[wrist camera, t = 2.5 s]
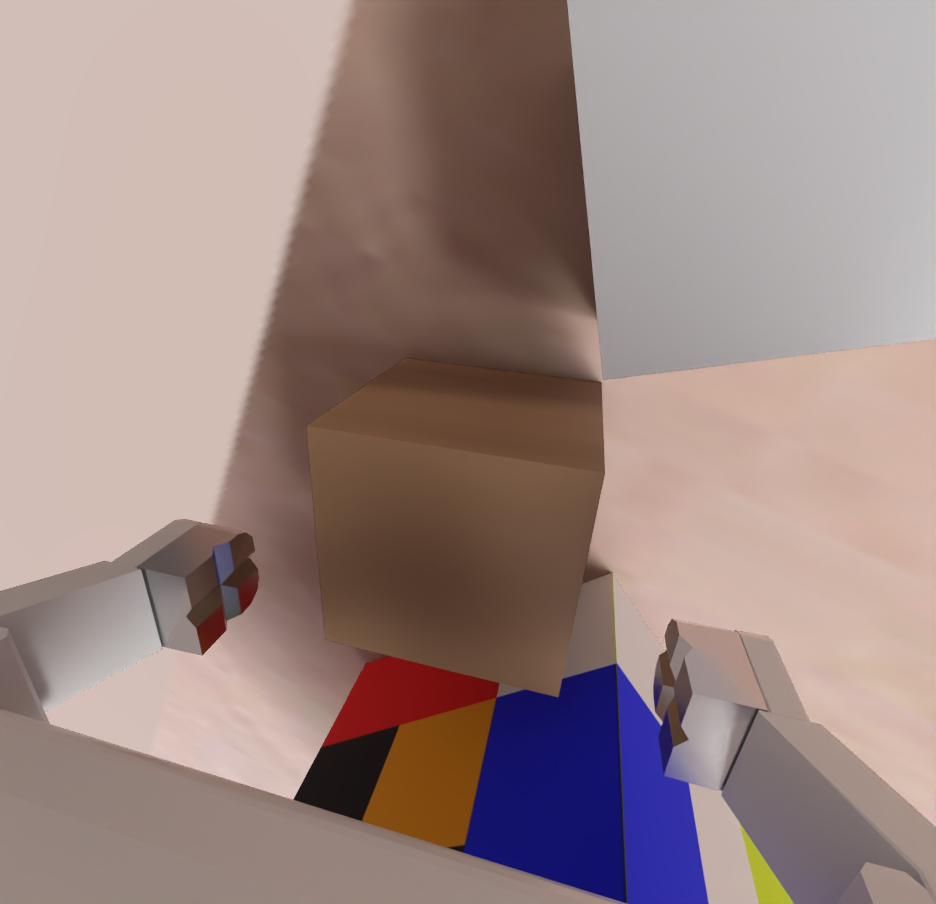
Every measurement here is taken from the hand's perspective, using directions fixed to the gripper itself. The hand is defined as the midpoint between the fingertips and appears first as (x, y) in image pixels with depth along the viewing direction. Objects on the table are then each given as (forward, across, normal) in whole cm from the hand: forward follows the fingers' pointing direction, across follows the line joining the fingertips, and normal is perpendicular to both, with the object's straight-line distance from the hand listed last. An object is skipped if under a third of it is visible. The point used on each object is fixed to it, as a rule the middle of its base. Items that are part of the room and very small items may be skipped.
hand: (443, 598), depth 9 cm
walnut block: (+5, 0, -1) cm, 5 cm away
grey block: (+5, -4, -8) cm, 10 cm away
